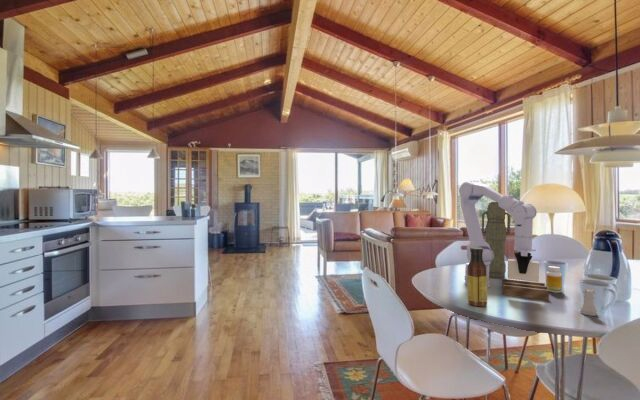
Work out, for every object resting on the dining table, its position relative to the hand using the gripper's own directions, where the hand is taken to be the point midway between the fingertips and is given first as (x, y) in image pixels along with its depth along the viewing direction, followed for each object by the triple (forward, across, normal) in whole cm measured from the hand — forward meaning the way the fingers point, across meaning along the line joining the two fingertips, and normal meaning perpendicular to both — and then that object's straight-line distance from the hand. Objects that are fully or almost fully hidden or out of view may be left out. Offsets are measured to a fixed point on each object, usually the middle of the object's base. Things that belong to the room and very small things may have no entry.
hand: (522, 272), depth 131 cm
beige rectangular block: (+3, 0, 0) cm, 3 cm away
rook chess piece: (+10, -11, -18) cm, 23 cm away
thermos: (+10, +32, +9) cm, 35 cm away
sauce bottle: (+10, -18, +15) cm, 25 cm away
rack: (+9, +7, -1) cm, 12 cm away
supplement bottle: (+10, +16, -12) cm, 22 cm away
